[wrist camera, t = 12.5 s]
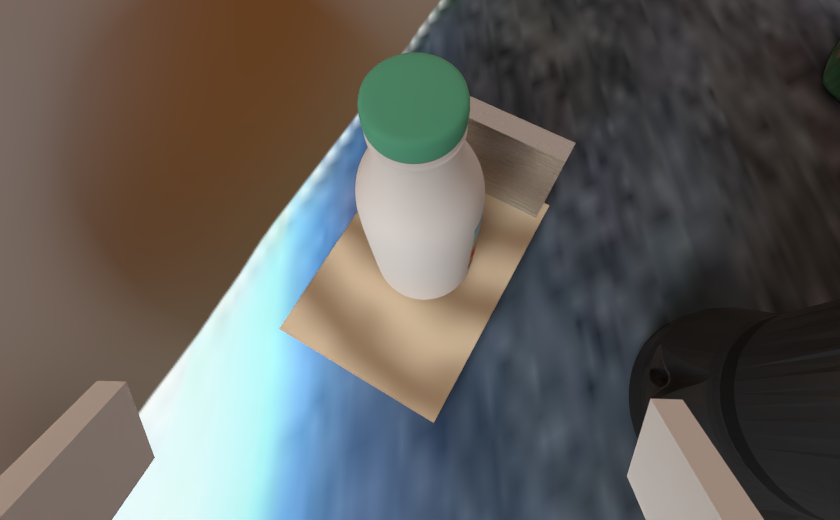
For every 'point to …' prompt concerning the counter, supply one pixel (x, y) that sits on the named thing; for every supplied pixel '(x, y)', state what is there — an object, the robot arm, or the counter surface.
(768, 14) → the counter surface
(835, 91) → the coffee jar
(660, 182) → the counter surface
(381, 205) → the milk bottle
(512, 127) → the bookend
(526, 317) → the counter surface
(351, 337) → the shelf board
